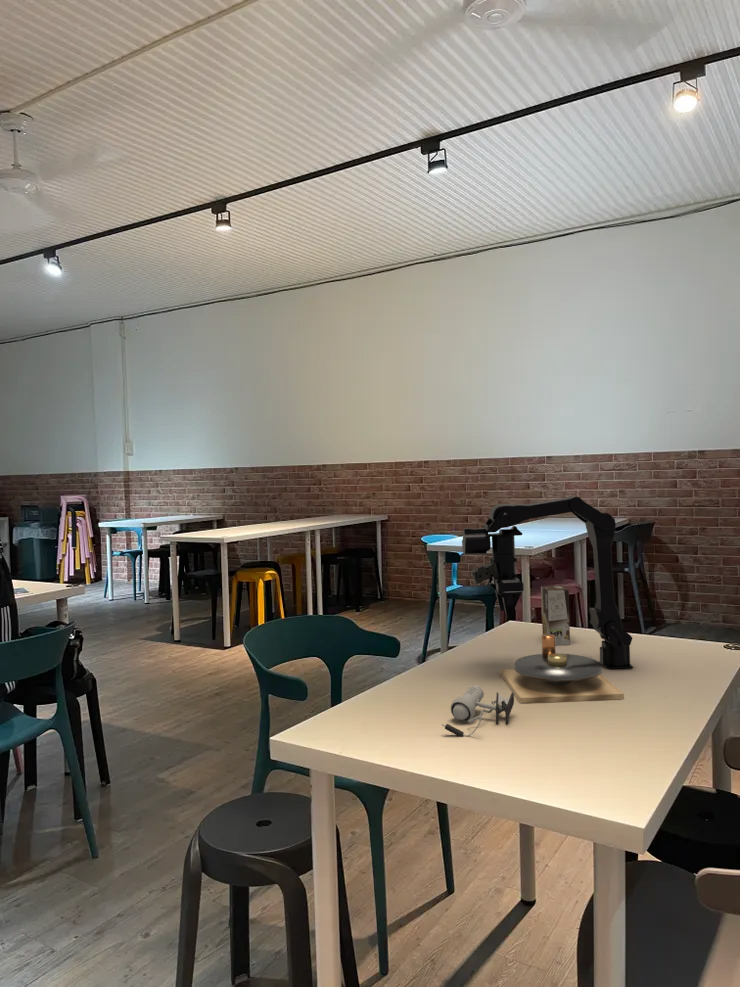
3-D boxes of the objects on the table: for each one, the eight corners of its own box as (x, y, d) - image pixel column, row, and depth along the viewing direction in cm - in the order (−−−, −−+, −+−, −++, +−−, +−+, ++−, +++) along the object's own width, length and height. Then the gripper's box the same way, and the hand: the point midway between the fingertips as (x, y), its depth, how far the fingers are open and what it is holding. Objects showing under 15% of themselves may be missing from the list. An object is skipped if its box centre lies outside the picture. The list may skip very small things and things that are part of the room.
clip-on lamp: (487, 757, 140) (519, 709, 155) (486, 728, 138) (519, 682, 153) (432, 741, 146) (468, 697, 161) (430, 714, 144) (467, 671, 159)
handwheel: (614, 679, 163) (613, 652, 163) (525, 683, 163) (524, 655, 163) (586, 656, 183) (586, 632, 183) (507, 659, 183) (506, 635, 183)
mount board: (591, 670, 185) (590, 656, 185) (623, 699, 162) (623, 682, 162) (500, 674, 184) (500, 659, 184) (520, 703, 162) (519, 686, 161)
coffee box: (571, 645, 212) (569, 589, 211) (548, 645, 212) (547, 590, 211) (563, 637, 221) (561, 584, 220) (542, 638, 221) (540, 585, 220)
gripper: (467, 550, 196) (469, 608, 197) (477, 559, 178) (479, 622, 178) (508, 549, 196) (510, 606, 197) (522, 557, 178) (525, 621, 178)
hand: (505, 614), depth 187 cm, fingers open, 9 cm apart
